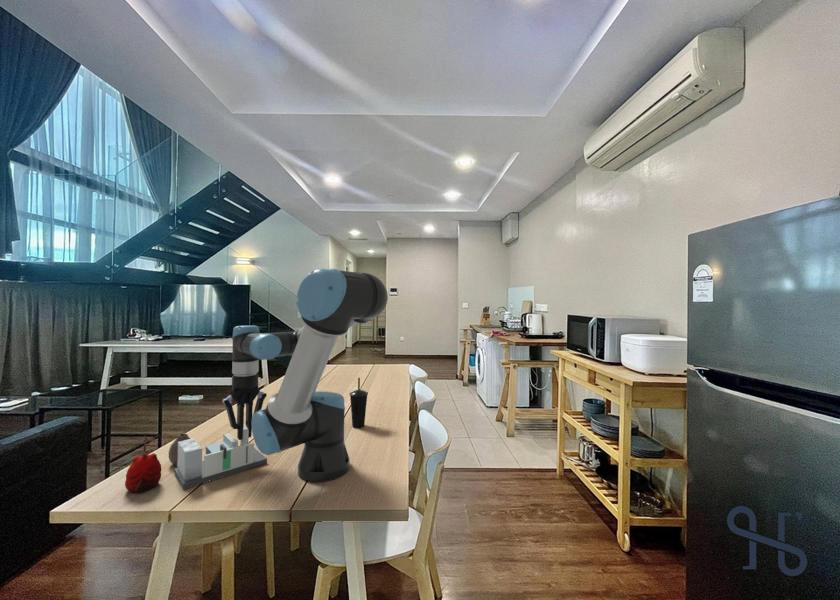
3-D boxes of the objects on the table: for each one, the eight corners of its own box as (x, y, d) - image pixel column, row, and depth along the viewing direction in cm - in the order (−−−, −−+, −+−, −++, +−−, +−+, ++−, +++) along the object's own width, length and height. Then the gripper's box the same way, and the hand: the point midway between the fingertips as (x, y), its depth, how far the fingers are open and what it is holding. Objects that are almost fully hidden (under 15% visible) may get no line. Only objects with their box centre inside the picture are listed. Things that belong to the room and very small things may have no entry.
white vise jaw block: (201, 476, 95) (202, 448, 95) (184, 482, 92) (185, 452, 92) (193, 464, 102) (194, 438, 102) (177, 469, 99) (177, 441, 99)
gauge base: (267, 463, 106) (267, 439, 106) (183, 489, 91) (183, 461, 91) (253, 451, 115) (253, 429, 115) (174, 473, 99) (175, 448, 99)
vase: (190, 466, 104) (191, 437, 104) (164, 469, 102) (164, 440, 102) (198, 456, 111) (198, 429, 111) (173, 459, 109) (174, 431, 109)
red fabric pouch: (161, 478, 97) (162, 425, 97) (160, 489, 91) (162, 433, 91) (126, 486, 92) (127, 431, 92) (123, 498, 86) (124, 439, 87)
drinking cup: (370, 427, 139) (371, 378, 140) (353, 430, 135) (354, 380, 135) (363, 421, 146) (363, 375, 146) (346, 425, 141) (346, 377, 142)
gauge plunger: (240, 467, 100) (240, 443, 100) (215, 475, 95) (215, 450, 95) (228, 454, 108) (228, 432, 108) (204, 461, 103) (205, 438, 104)
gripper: (262, 369, 115) (260, 439, 114) (219, 375, 106) (217, 451, 105) (270, 372, 110) (269, 446, 109) (226, 378, 100) (225, 458, 100)
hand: (244, 448), depth 107 cm, fingers closed
